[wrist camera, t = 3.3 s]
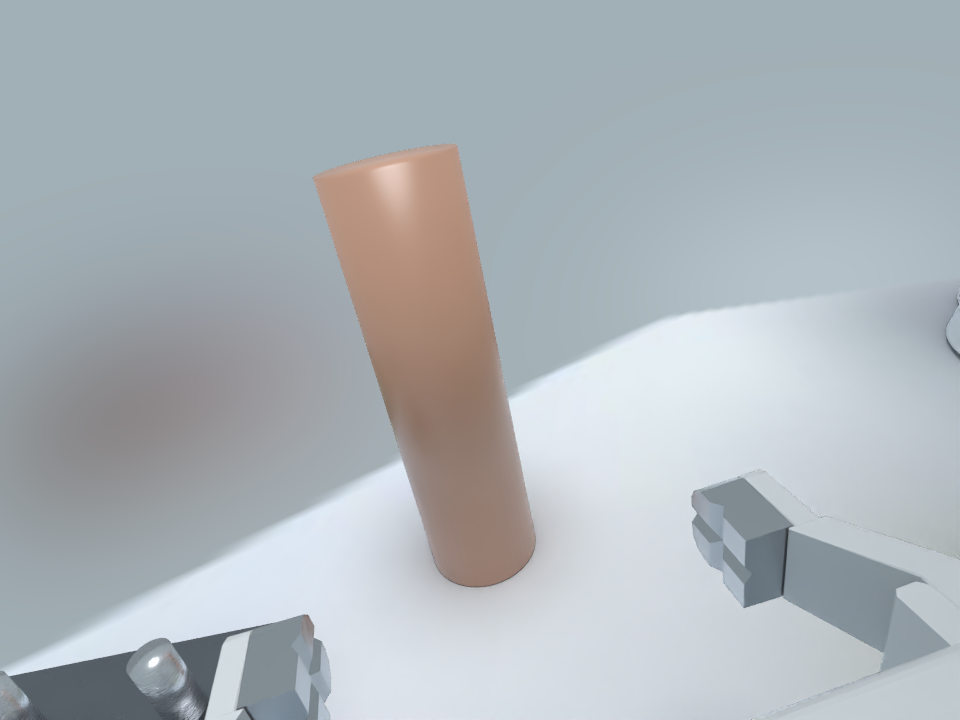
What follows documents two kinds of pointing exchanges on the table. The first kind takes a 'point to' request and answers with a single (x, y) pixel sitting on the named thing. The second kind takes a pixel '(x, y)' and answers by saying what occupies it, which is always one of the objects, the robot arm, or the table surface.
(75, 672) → the plate
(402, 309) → the canister
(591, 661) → the table surface
